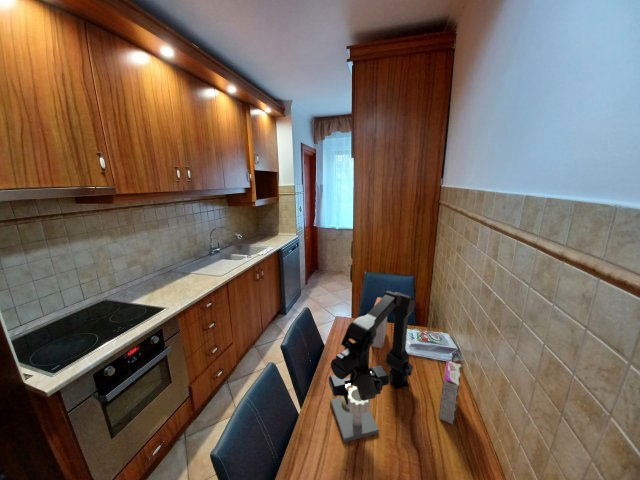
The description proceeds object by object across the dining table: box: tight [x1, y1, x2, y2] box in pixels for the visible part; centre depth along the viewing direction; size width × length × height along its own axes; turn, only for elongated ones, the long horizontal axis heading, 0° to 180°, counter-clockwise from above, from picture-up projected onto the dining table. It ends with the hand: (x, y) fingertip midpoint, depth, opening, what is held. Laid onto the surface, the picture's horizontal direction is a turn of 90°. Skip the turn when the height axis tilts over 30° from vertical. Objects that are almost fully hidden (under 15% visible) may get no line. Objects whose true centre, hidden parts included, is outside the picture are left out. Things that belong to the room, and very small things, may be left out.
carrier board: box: [330, 396, 380, 443], centre depth 86 cm, size 12×15×6 cm
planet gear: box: [347, 385, 371, 415], centre depth 81 cm, size 8×8×4 cm
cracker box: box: [370, 296, 388, 350], centre depth 126 cm, size 14×6×21 cm, turn 157°
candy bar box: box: [438, 359, 462, 426], centre depth 87 cm, size 11×5×16 cm, turn 148°
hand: (358, 401), depth 81 cm, fingers closed on planet gear, 7 cm apart
